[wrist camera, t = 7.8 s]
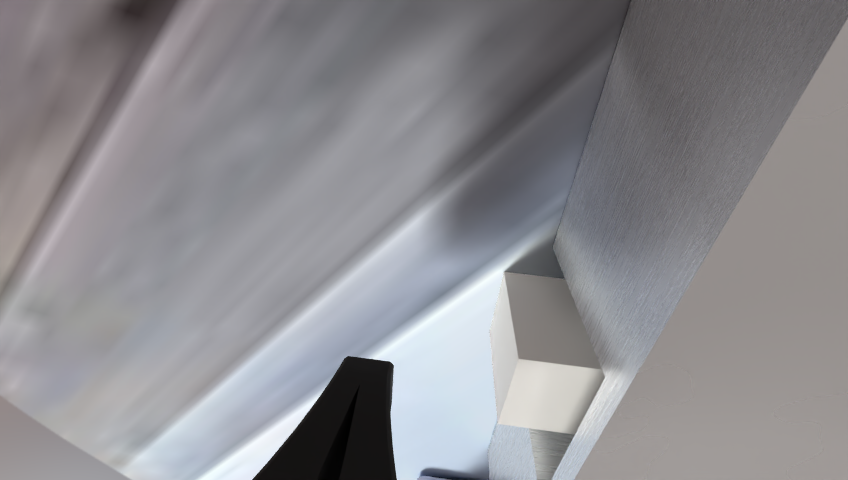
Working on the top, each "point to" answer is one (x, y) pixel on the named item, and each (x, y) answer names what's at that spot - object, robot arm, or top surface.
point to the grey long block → (710, 252)
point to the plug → (541, 355)
